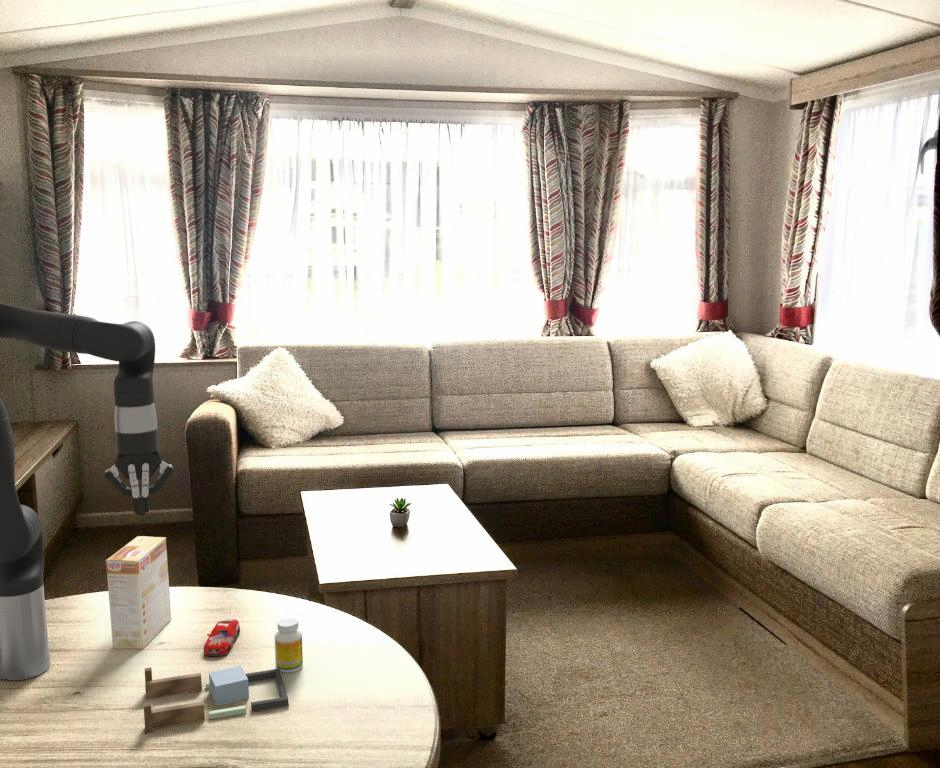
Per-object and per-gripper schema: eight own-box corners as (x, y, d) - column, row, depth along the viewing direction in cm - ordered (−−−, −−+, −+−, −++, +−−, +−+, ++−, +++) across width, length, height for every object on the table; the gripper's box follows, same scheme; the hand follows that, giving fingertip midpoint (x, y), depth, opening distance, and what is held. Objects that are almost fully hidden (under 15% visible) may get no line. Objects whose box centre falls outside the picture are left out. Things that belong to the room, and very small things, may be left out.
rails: (209, 719, 162) (209, 714, 162) (206, 686, 173) (205, 681, 173) (246, 713, 164) (246, 708, 164) (240, 681, 175) (240, 676, 175)
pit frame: (251, 712, 164) (251, 705, 164) (245, 680, 176) (245, 673, 175) (288, 706, 166) (288, 698, 166) (280, 675, 178) (279, 668, 178)
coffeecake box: (142, 618, 204) (136, 535, 201) (172, 619, 204) (167, 536, 200) (110, 648, 189) (104, 559, 186) (143, 649, 189) (137, 560, 186)
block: (216, 706, 166) (215, 686, 166) (209, 692, 172) (208, 672, 171) (249, 699, 169) (248, 679, 169) (241, 685, 174) (240, 665, 174)
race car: (226, 659, 185) (225, 641, 184) (200, 659, 185) (199, 640, 185) (244, 630, 198) (243, 613, 197) (219, 630, 198) (218, 613, 198)
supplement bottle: (272, 664, 182) (271, 619, 181) (299, 658, 185) (297, 614, 183) (279, 675, 178) (277, 629, 176) (306, 670, 180) (304, 624, 178)
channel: (145, 733, 157) (143, 706, 156) (146, 693, 171) (144, 668, 170) (205, 723, 160) (203, 697, 160) (201, 684, 174) (200, 660, 173)
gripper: (97, 434, 166) (104, 524, 169) (173, 428, 171) (178, 517, 174) (100, 425, 173) (106, 512, 176) (172, 421, 178) (177, 506, 181)
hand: (142, 514), depth 175 cm, fingers closed
